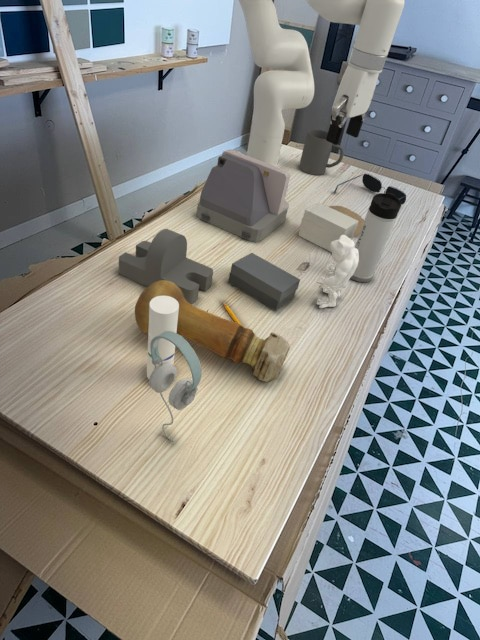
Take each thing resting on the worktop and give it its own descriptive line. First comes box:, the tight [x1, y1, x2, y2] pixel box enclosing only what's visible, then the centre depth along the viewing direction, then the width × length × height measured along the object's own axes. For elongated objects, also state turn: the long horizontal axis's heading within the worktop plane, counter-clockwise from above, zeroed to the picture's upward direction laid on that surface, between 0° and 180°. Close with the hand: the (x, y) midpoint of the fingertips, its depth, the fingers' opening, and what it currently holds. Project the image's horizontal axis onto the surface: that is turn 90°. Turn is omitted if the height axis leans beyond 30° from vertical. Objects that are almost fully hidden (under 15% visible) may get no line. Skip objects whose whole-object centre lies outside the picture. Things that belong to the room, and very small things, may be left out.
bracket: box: [118, 228, 214, 305], centre depth 95 cm, size 10×18×11 cm, turn 63°
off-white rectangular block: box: [298, 217, 355, 253], centre depth 121 cm, size 12×7×5 cm, turn 52°
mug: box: [299, 128, 345, 176], centre depth 155 cm, size 14×9×12 cm
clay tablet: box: [327, 205, 365, 238], centre depth 131 cm, size 14×10×3 cm
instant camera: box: [196, 148, 291, 243], centre depth 120 cm, size 21×21×15 cm
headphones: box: [148, 331, 202, 443], centre depth 62 cm, size 8×4×20 cm, turn 49°
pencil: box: [222, 301, 243, 326], centre depth 89 cm, size 1×19×1 cm, turn 28°
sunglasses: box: [333, 173, 407, 206], centre depth 146 cm, size 17×15×5 cm
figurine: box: [315, 235, 359, 309], centre depth 97 cm, size 11×7×15 cm, turn 157°
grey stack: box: [227, 252, 301, 312], centre depth 99 cm, size 13×7×5 cm, turn 51°
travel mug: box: [350, 192, 402, 283], centre depth 106 cm, size 6×7×20 cm
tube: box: [146, 296, 179, 380], centre depth 73 cm, size 4×4×15 cm
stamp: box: [134, 280, 291, 383], centre depth 81 cm, size 10×28×15 cm, turn 69°
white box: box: [302, 202, 359, 236], centre depth 118 cm, size 12×7×2 cm, turn 52°
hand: (342, 138), depth 112 cm, fingers open, 9 cm apart
